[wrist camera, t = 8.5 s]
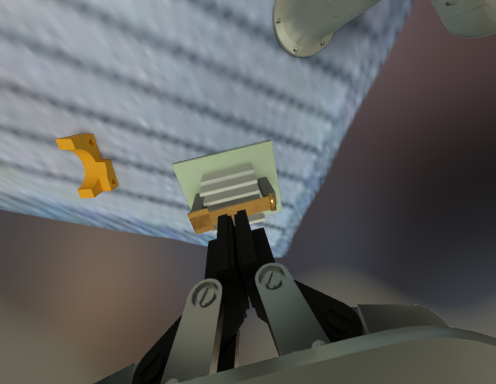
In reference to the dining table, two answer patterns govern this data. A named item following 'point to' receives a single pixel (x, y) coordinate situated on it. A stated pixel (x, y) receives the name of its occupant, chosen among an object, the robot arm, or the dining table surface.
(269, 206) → the strap
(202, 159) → the board
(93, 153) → the pipe clamp
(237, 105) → the dining table surface
